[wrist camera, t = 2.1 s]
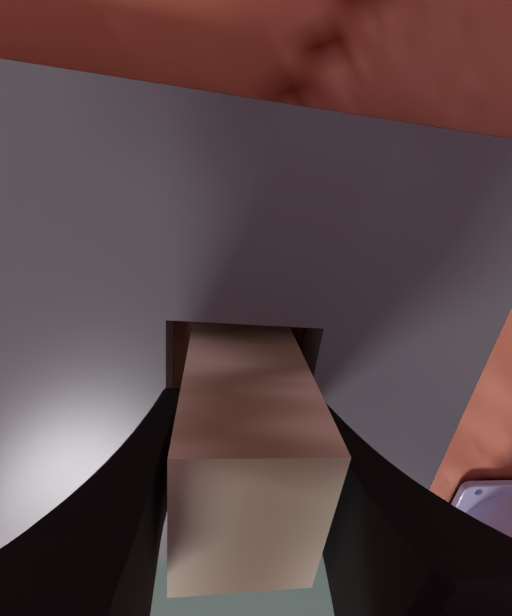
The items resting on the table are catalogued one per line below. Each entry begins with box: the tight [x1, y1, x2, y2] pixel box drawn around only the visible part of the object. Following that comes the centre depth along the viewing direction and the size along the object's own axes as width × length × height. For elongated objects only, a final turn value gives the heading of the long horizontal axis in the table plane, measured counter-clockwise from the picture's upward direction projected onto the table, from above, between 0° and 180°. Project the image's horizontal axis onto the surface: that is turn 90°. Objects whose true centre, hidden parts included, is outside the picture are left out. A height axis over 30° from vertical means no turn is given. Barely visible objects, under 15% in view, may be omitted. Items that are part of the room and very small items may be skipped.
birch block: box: [167, 322, 351, 598], centre depth 11 cm, size 4×5×7 cm
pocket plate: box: [0, 59, 512, 562], centre depth 13 cm, size 20×20×2 cm
